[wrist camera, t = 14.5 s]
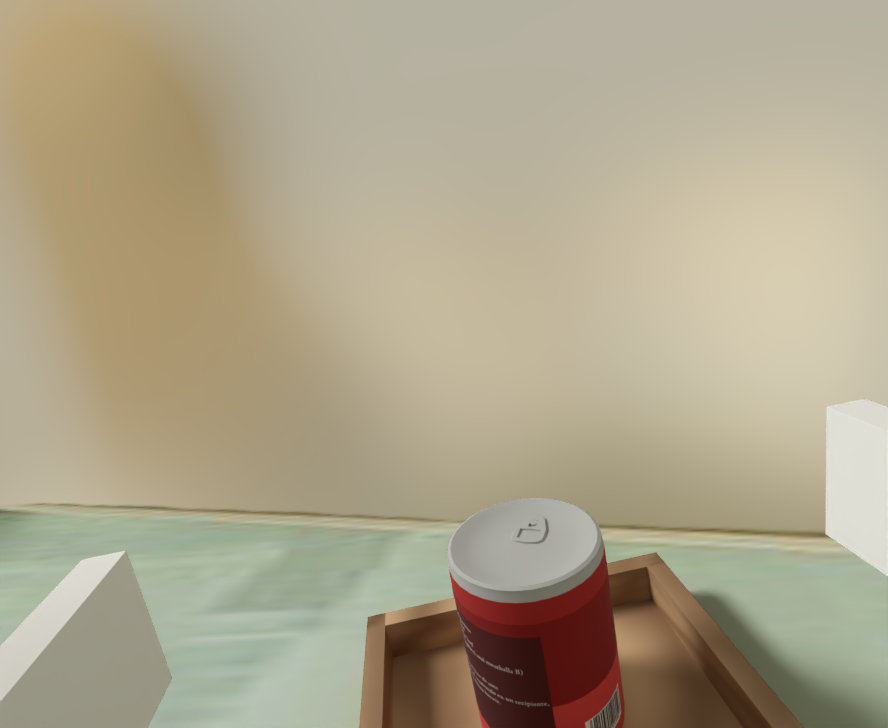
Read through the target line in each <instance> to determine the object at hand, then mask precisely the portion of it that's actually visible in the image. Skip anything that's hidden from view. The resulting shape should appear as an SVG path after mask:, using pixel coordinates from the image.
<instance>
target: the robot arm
mask: <svg viewBox="0 0 888 728" xmlns="http://www.w3.org/2000/svg"><path fill="white" fill-rule="evenodd" d="M826 409H827V410H826V419H827V420H826V421H827V422H826V534H827V535H828V536H829V537H831V538H832V539H834V540H835V541H837V542H838V543H840V544H841V545H843V546H844V547H846V548H847V549H849V550H850V551H852V552H853V553H854V554H856V555H857V556H859V557H860V558H862V559H863V560H865V561H866V562H868V563H869V564H871V565H872V566H874V567H875V568H877V569H878V570H879V571H881V572H882V573H884V574H885V575H887V576H888V407H886V406H883V405H880V404H877V403H874V402H871V401H868V400H866V399H862V400H857V401H852V402H847V403H843V404H838V405H833V406H828V407H827V408H826ZM171 679H172V676H171V673H170V670H169V667H168V665H167V662H166V659H165V656H164V654H163V651H162V648H161V645H160V642H159V640H158V637H157V634H156V631H155V629H154V626H153V623H152V620H151V618H150V615H149V612H148V609H147V606H146V604H145V601H144V598H143V595H142V593H141V590H140V587H139V584H138V582H137V579H136V576H135V573H134V571H133V568H132V565H131V562H130V559H129V557H128V554H127V551H122V552H117V553H112V554H107V555H102V556H97V557H92V558H88V559H83V560H81V561H80V562H79V563H78V564H77V565H76V566H75V568H74V569H73V570H72V571H71V572H70V573H69V574H68V575H67V576H66V577H65V578H64V579H63V580H62V581H61V582H60V583H59V584H58V585H57V587H56V588H55V589H54V590H53V591H52V592H51V593H50V594H49V595H48V596H47V597H46V598H45V599H44V600H43V601H42V602H41V603H40V605H39V606H38V607H37V608H36V609H35V610H34V611H33V612H32V613H31V614H30V615H29V616H28V617H27V618H26V619H25V620H24V621H23V622H22V624H21V625H20V626H19V627H18V628H17V629H16V630H15V631H14V632H13V633H12V634H11V635H10V636H9V637H8V638H7V639H6V640H5V641H4V643H3V644H2V645H1V646H0V728H148V726H149V724H150V722H151V720H152V718H153V716H154V714H155V712H156V710H157V708H158V706H159V704H160V702H161V699H162V697H163V695H164V693H165V691H166V689H167V687H168V685H169V683H170V681H171Z"/></svg>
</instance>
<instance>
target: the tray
mask: <svg viewBox="0 0 888 728" xmlns="http://www.w3.org/2000/svg"><path fill="white" fill-rule="evenodd" d="M607 568H608V576H609V584H610V592H611V600H612V608H613V616H614V624H615V632H616V640H617V648H618V656H619V664H620V672H621V680H622V688H623V696H624V704H625V714H624V722H623V726H622V728H804V727H803V726H802V725H801V724H800V723H799V722H798V720H797V719H796V718H795V717H794V716H793V714H792V713H791V712H790V711H789V710H788V708H787V707H786V706H785V705H784V704H783V703H782V701H781V700H780V699H779V698H778V697H777V695H776V694H775V693H774V692H773V691H772V690H771V688H770V687H769V686H768V685H767V684H766V682H765V681H764V680H763V679H762V678H761V676H760V675H759V674H758V673H757V672H756V671H755V669H754V668H753V667H752V666H751V665H750V663H749V662H748V661H747V660H746V659H745V657H744V656H743V655H742V654H741V653H740V652H739V650H738V649H737V648H736V647H735V646H734V644H733V643H732V642H731V641H730V640H729V638H728V637H727V636H726V635H725V634H724V633H723V631H722V630H721V629H720V628H719V627H718V625H717V624H716V623H715V622H714V621H713V620H712V618H711V617H710V616H709V615H708V614H707V612H706V611H705V610H704V609H703V608H702V606H701V605H700V604H699V603H698V602H697V601H696V599H695V598H694V597H693V596H692V595H691V593H690V592H689V591H688V590H687V589H686V587H685V586H684V585H683V584H682V583H681V582H680V580H679V579H678V578H677V577H676V576H675V574H674V573H673V572H672V571H671V570H670V568H669V567H668V566H667V565H666V564H665V563H664V561H663V560H662V559H661V558H660V557H659V555H658V554H657V553H651V554H647V555H643V556H638V557H634V558H629V559H625V560H620V561H616V562H611V563H607ZM359 728H483V727H482V724H481V719H480V715H479V710H478V705H477V701H476V696H475V691H474V687H473V682H472V677H471V673H470V668H469V663H468V659H467V654H466V649H465V645H464V640H463V635H462V631H461V626H460V621H459V617H458V612H457V607H456V603H455V598H451V599H446V600H442V601H438V602H433V603H429V604H424V605H420V606H415V607H411V608H406V609H402V610H397V611H393V612H389V613H384V614H380V615H375V616H371V617H368V622H367V635H366V648H365V661H364V673H363V686H362V699H361V712H360V725H359Z"/></svg>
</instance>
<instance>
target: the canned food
mask: <svg viewBox="0 0 888 728" xmlns="http://www.w3.org/2000/svg"><path fill="white" fill-rule="evenodd" d="M447 553H448V565H449V572H450V577H451V582H452V588H453V593H454V598H455V603H456V607H457V612H458V617H459V621H460V626H461V631H462V635H463V640H464V645H465V649H466V654H467V659H468V663H469V668H470V673H471V677H472V682H473V687H474V691H475V696H476V701H477V705H478V710H479V715H480V719H481V724H482V727H483V728H622V726H623V722H624V714H625V704H624V696H623V688H622V680H621V672H620V664H619V656H618V648H617V640H616V632H615V624H614V616H613V608H612V600H611V592H610V584H609V576H608V568H607V562H606V556H605V548H604V543H603V539H602V535H601V531H600V528H599V525H598V523H597V522H596V520H595V519H594V518H593V517H592V516H591V515H590V514H589V513H588V512H587V511H585V510H583V509H582V508H580V507H578V506H576V505H573V504H571V503H568V502H565V501H560V500H556V499H547V498H525V499H518V500H512V501H507V502H502V503H499V504H497V505H493V506H490V507H488V508H486V509H484V510H482V511H479V512H478V513H476V514H474V515H473V516H471V517H469V518H468V519H467V520H466V521H464V522H463V523H462V524H461V525H460V526H459V527H458V528H457V529H456V531H455V532H454V533H453V535H452V537H451V539H450V541H449V544H448V549H447Z"/></svg>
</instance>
